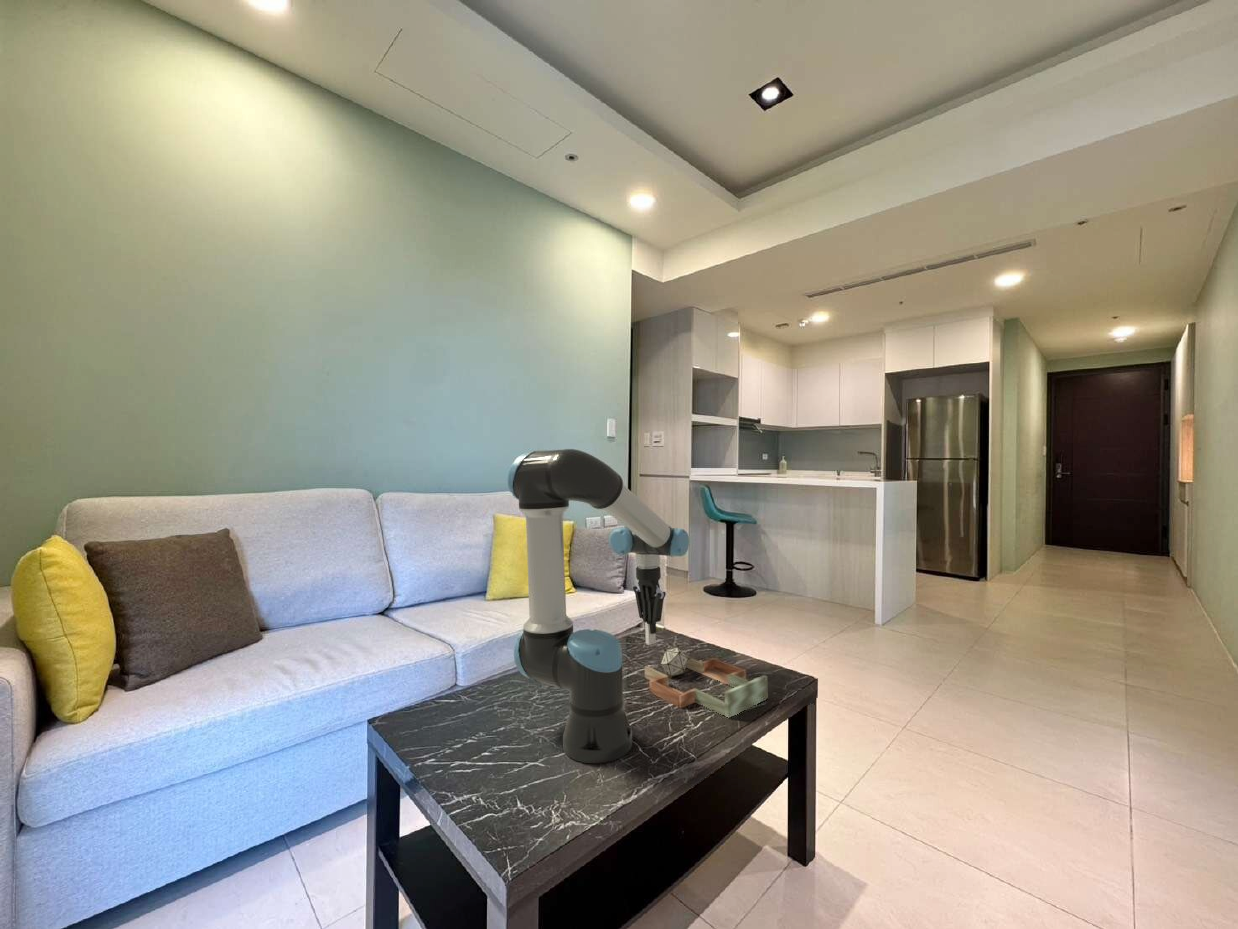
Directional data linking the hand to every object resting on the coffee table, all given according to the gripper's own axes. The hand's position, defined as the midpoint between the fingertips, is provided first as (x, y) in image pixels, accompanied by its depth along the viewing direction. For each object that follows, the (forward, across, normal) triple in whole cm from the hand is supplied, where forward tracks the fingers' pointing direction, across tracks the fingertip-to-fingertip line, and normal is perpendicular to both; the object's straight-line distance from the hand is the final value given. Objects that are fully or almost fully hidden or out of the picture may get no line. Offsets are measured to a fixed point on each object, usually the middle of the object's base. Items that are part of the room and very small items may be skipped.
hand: (650, 643), depth 152 cm
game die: (+7, -11, 0) cm, 13 cm away
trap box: (+6, -21, 0) cm, 22 cm away
